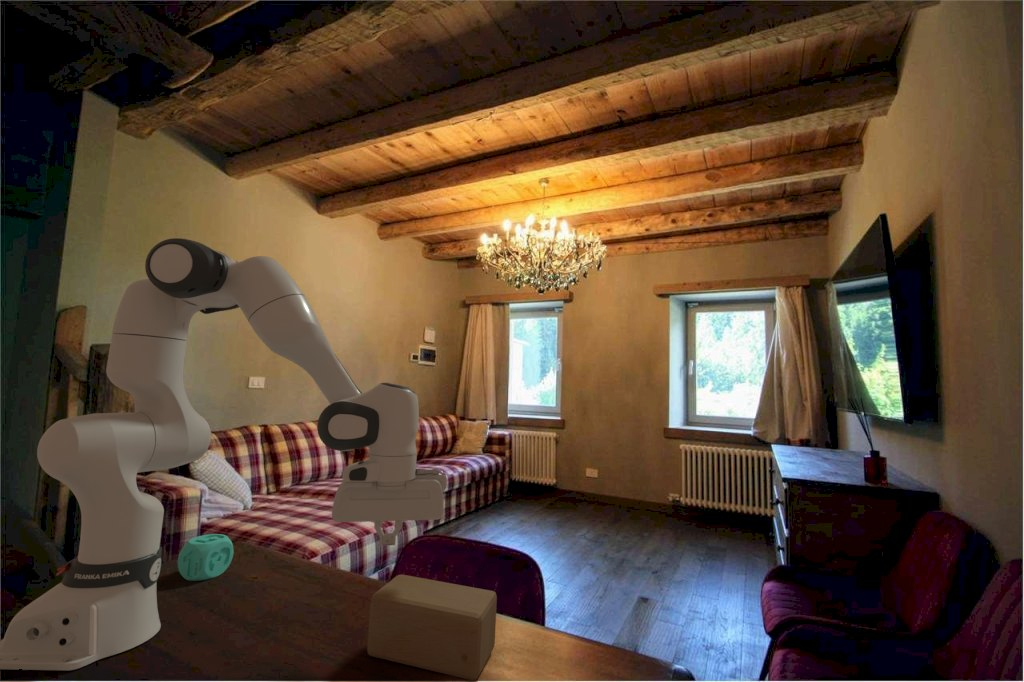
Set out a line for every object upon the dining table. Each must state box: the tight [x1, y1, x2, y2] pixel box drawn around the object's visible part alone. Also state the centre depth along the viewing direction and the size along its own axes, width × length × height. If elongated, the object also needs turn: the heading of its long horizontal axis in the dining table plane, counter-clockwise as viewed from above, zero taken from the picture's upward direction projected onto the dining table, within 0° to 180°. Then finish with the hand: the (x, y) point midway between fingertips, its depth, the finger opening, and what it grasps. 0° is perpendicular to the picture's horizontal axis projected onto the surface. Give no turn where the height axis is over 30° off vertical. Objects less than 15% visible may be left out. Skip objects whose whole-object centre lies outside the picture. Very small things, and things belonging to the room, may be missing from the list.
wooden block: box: [366, 574, 498, 681], centre depth 78 cm, size 10×10×20 cm
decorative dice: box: [177, 533, 235, 582], centre depth 107 cm, size 8×8×8 cm
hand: (387, 544), depth 84 cm, fingers closed
